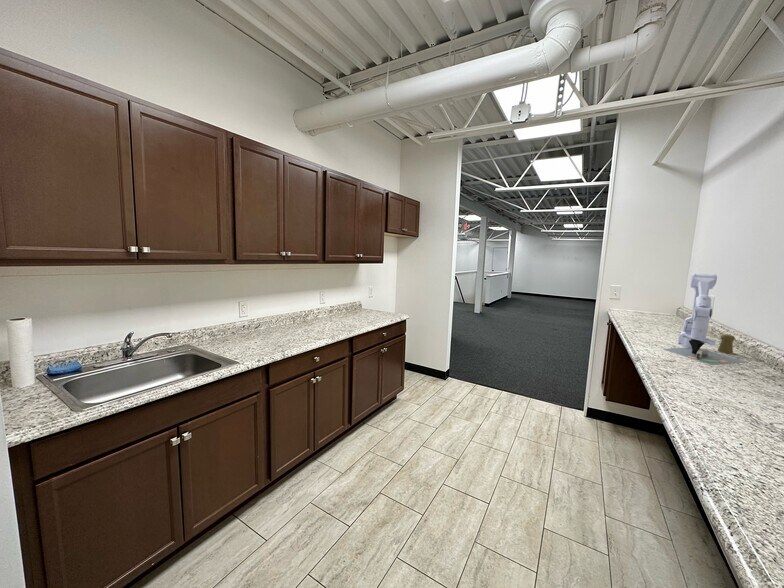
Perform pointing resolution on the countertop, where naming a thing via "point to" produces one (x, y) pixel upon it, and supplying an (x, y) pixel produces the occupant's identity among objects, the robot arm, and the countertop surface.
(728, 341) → the cork
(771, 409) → the countertop surface
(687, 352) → the board
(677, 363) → the countertop surface
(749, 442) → the countertop surface
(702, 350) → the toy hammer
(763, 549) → the countertop surface
